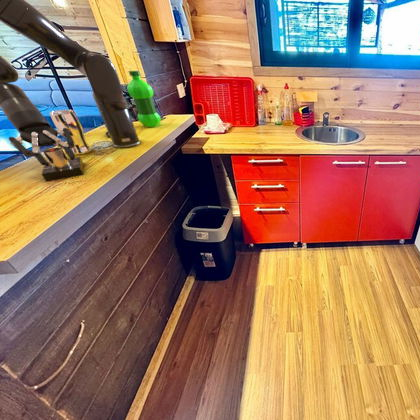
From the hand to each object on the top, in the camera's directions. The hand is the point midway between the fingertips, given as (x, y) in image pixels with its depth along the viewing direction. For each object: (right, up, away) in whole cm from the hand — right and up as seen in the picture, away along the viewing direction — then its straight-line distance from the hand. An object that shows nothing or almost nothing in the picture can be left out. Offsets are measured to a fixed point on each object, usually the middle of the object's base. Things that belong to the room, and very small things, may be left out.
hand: (60, 161), depth 81 cm
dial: (-1, -1, +2) cm, 3 cm away
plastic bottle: (-6, +28, +51) cm, 59 cm away
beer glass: (-11, +7, +19) cm, 23 cm away
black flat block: (-2, -3, +4) cm, 6 cm away
